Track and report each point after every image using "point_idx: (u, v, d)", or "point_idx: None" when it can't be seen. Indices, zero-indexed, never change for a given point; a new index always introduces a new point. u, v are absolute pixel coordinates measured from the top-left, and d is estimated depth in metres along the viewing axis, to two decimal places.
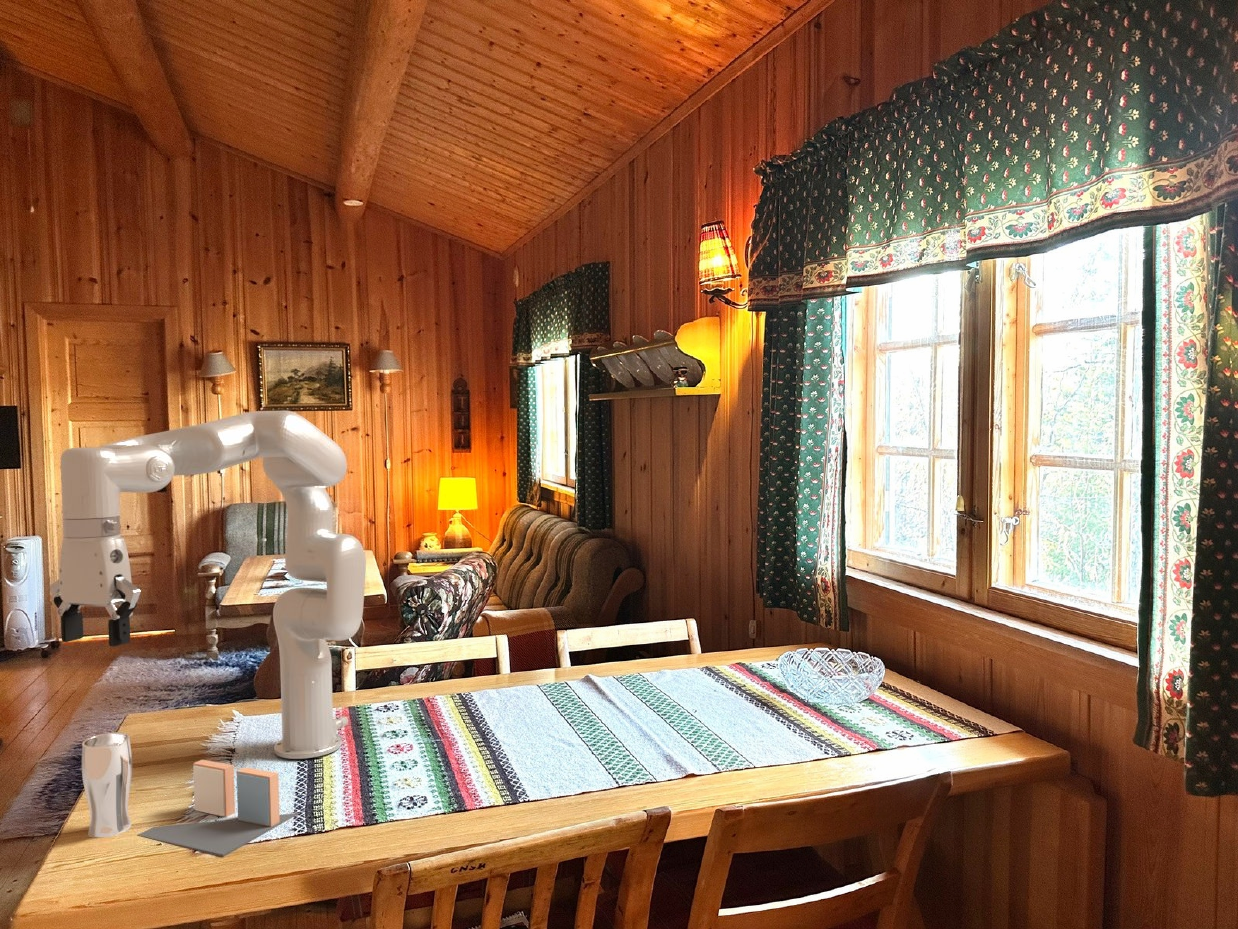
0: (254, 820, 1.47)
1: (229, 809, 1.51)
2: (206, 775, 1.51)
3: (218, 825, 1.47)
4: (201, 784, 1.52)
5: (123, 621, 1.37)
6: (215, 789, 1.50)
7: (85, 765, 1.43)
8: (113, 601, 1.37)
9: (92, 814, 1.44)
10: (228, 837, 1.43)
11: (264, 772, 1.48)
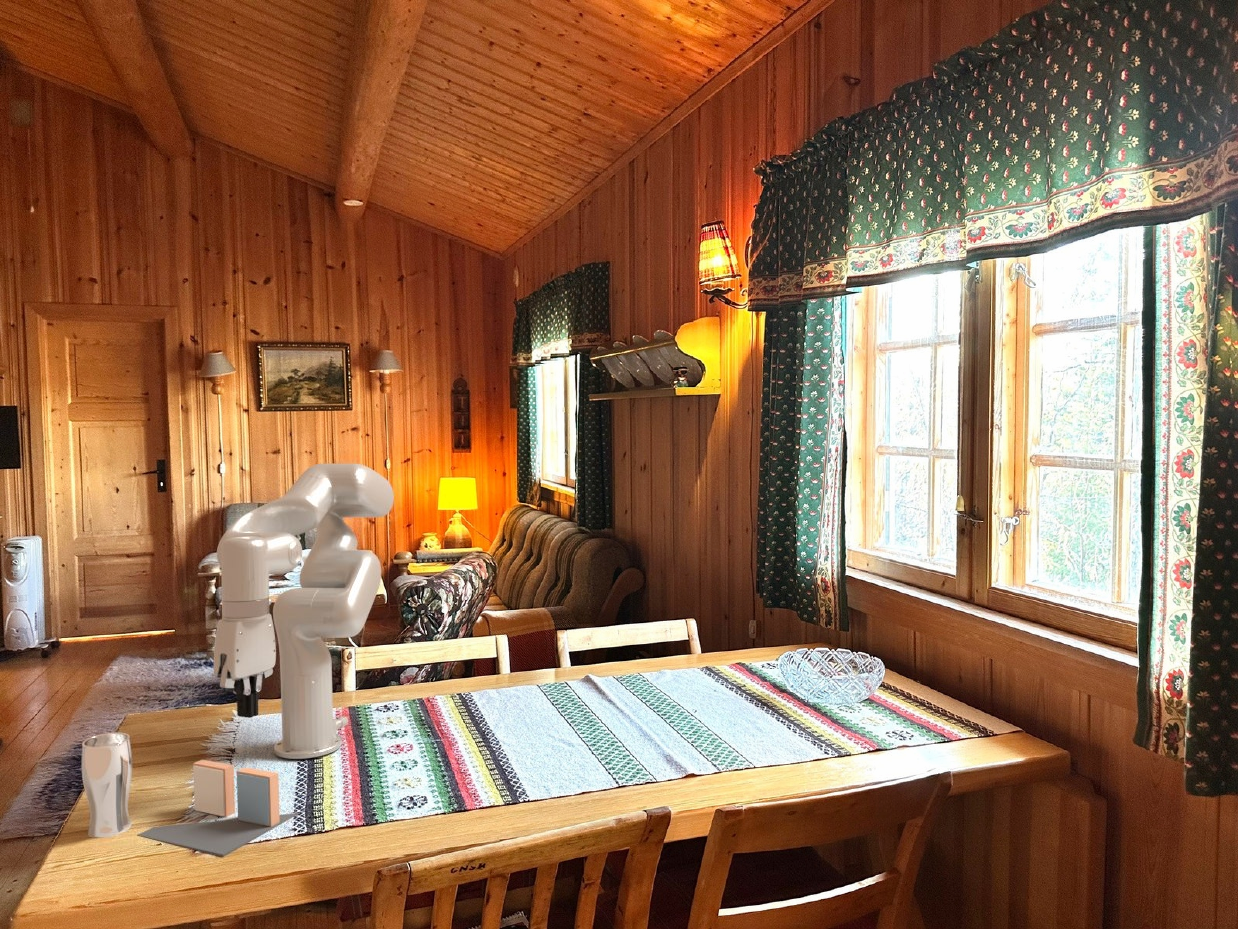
0: (254, 820, 1.47)
1: (229, 809, 1.51)
2: (206, 775, 1.51)
3: (218, 825, 1.47)
4: (201, 784, 1.52)
5: None
6: (215, 789, 1.50)
7: (85, 765, 1.43)
8: None
9: (92, 814, 1.44)
10: (228, 837, 1.43)
11: (264, 772, 1.48)
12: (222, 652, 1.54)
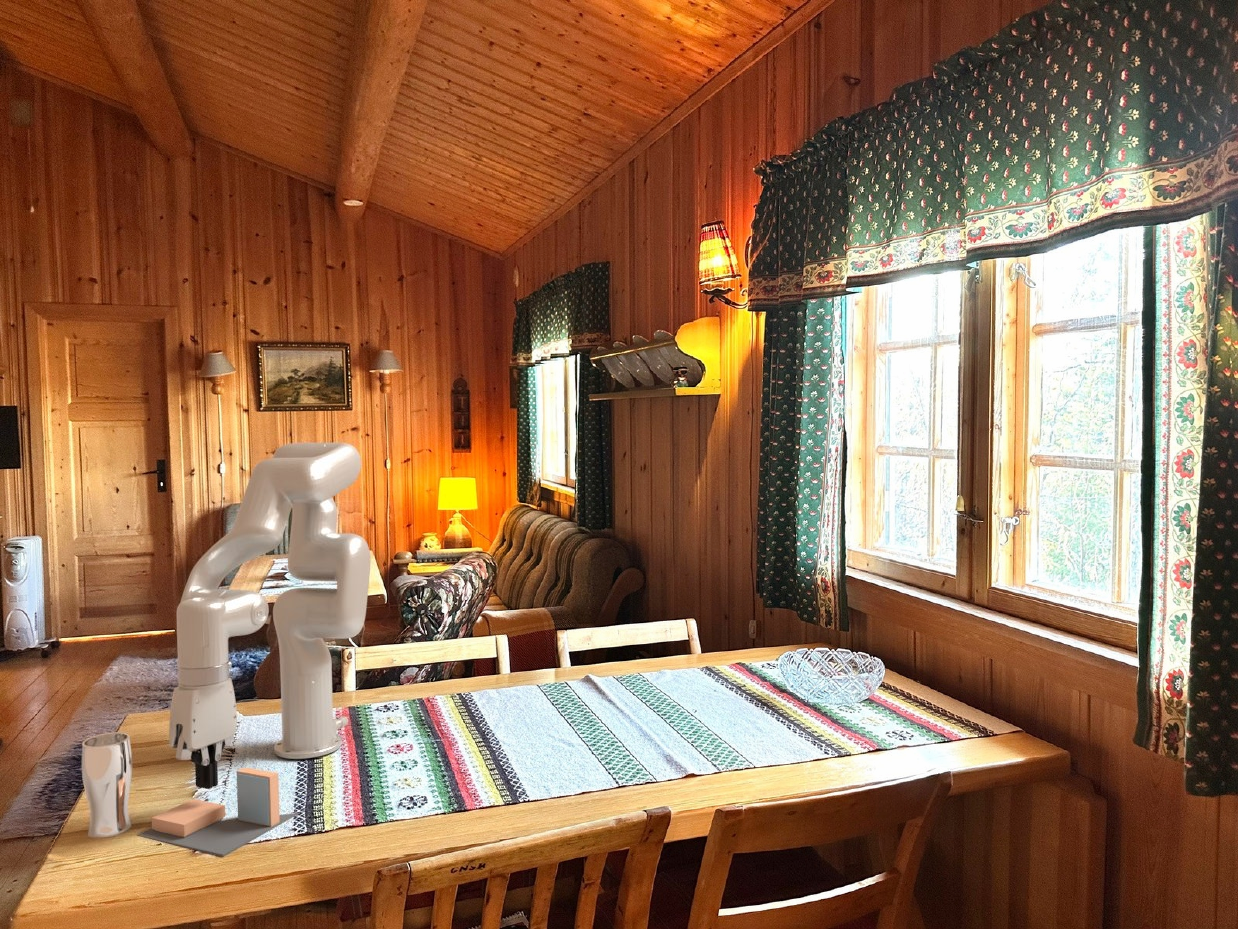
0: (254, 820, 1.47)
1: (219, 814, 1.49)
2: None
3: (218, 825, 1.47)
4: None
5: None
6: None
7: (85, 765, 1.43)
8: None
9: (92, 814, 1.44)
10: (228, 837, 1.43)
11: (264, 772, 1.48)
12: (178, 722, 1.46)
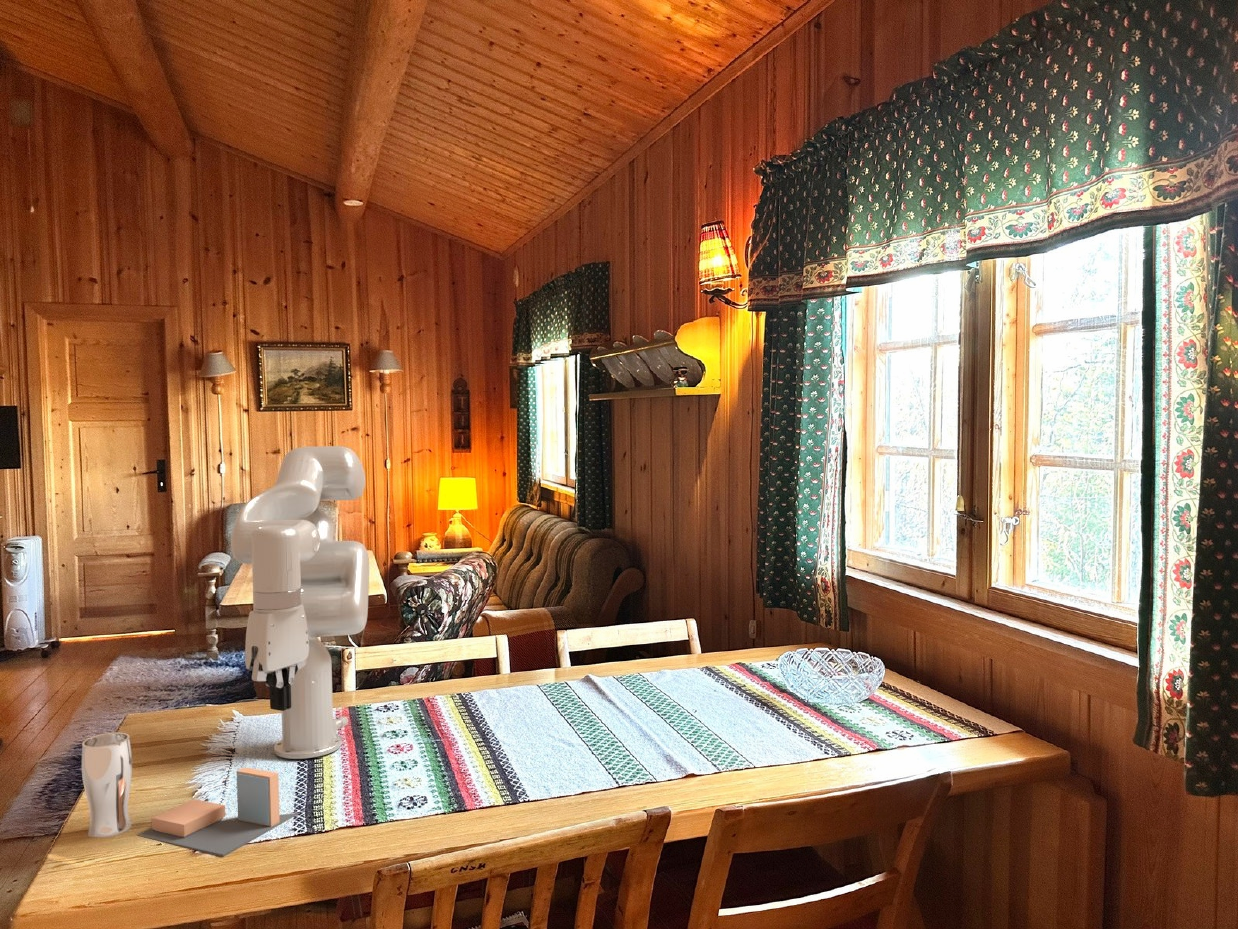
0: (254, 820, 1.47)
1: (219, 814, 1.49)
2: None
3: (218, 825, 1.47)
4: None
5: None
6: None
7: (85, 765, 1.43)
8: None
9: (92, 814, 1.44)
10: (228, 837, 1.43)
11: (264, 772, 1.48)
12: (253, 644, 1.50)
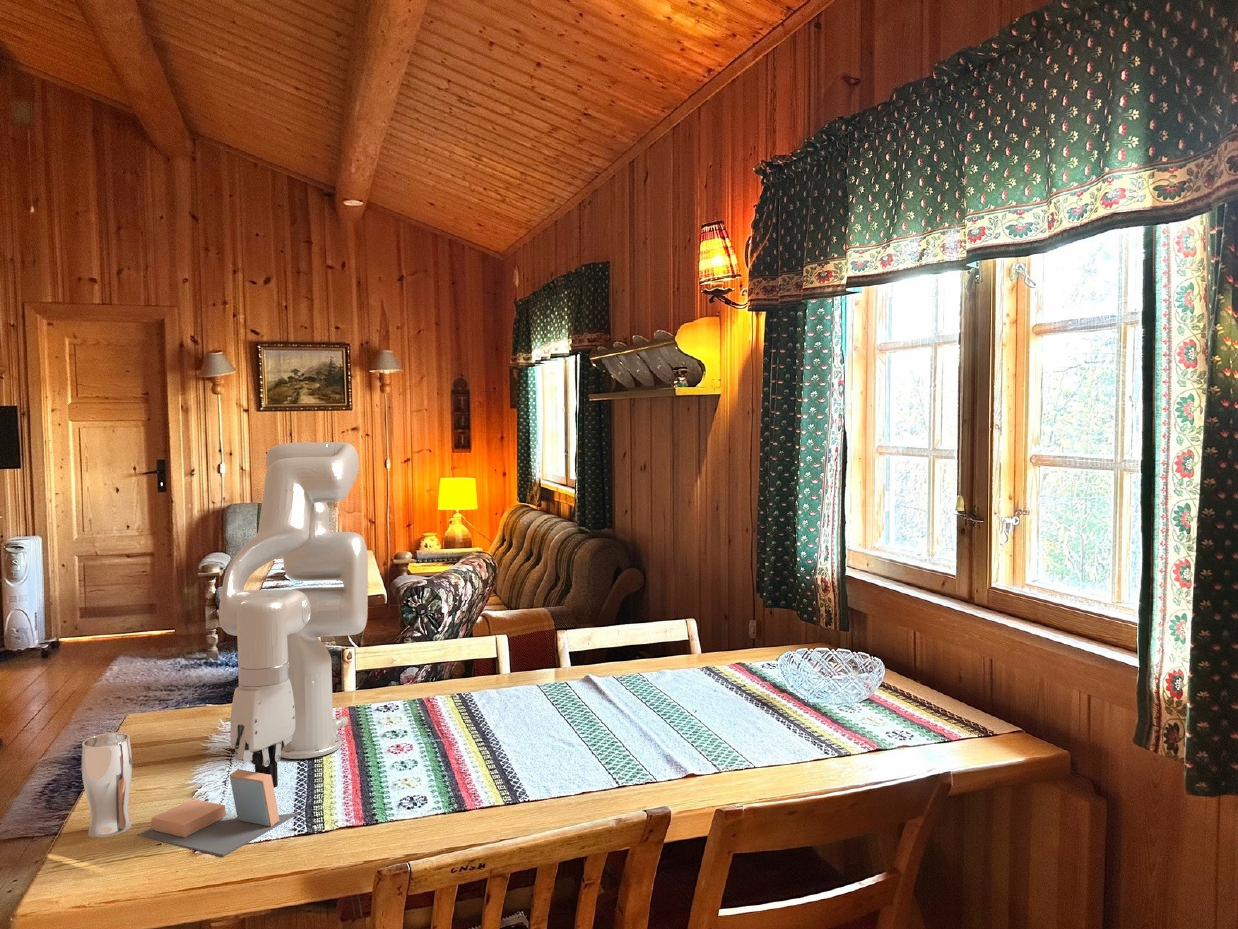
0: (253, 821, 1.47)
1: (219, 814, 1.49)
2: None
3: (218, 825, 1.47)
4: None
5: None
6: None
7: (85, 765, 1.43)
8: None
9: (92, 814, 1.44)
10: (228, 837, 1.43)
11: (257, 774, 1.47)
12: (239, 722, 1.45)
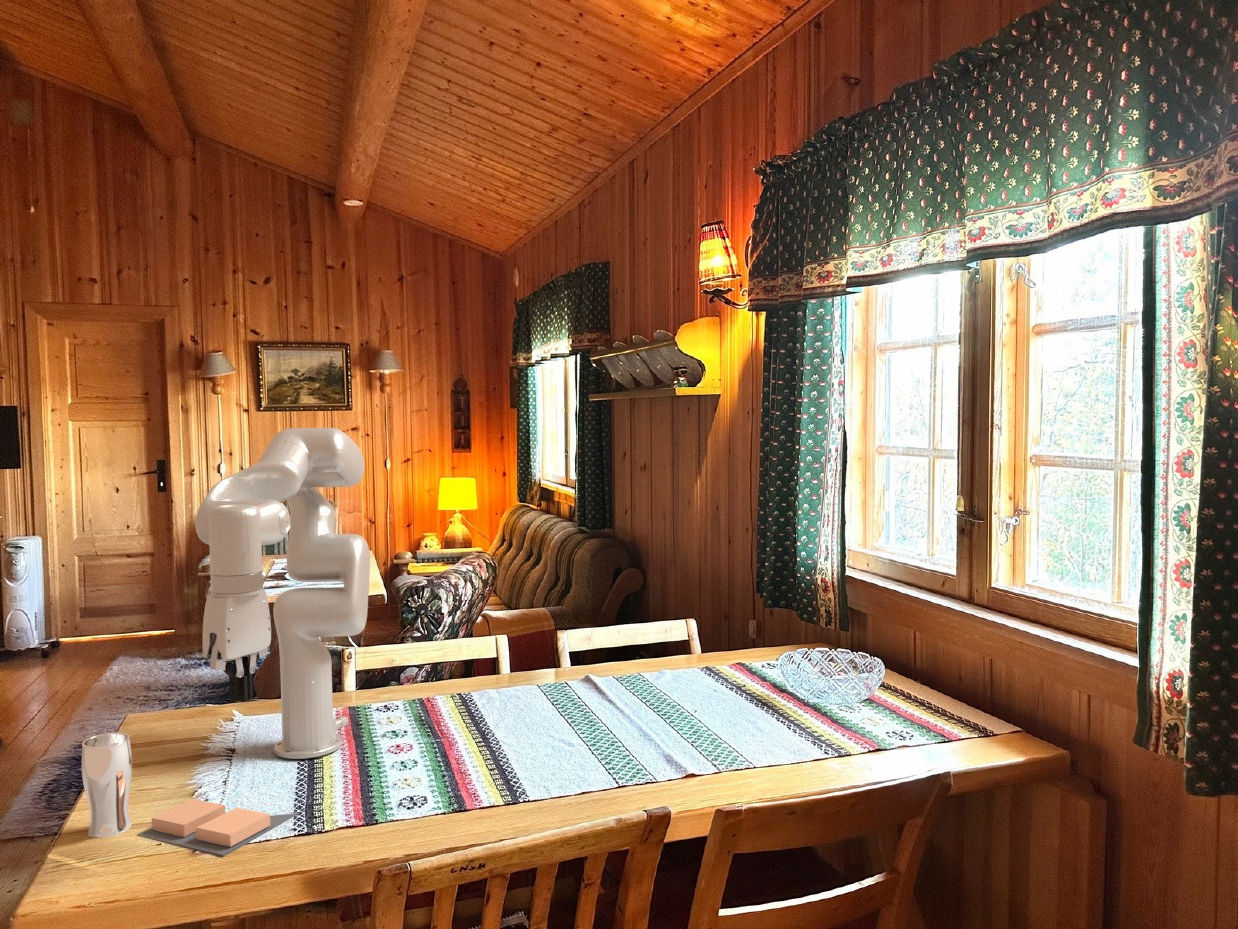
0: None
1: (219, 814, 1.49)
2: None
3: None
4: None
5: None
6: None
7: (85, 765, 1.43)
8: None
9: (92, 814, 1.44)
10: None
11: (218, 836, 1.40)
12: (211, 631, 1.40)
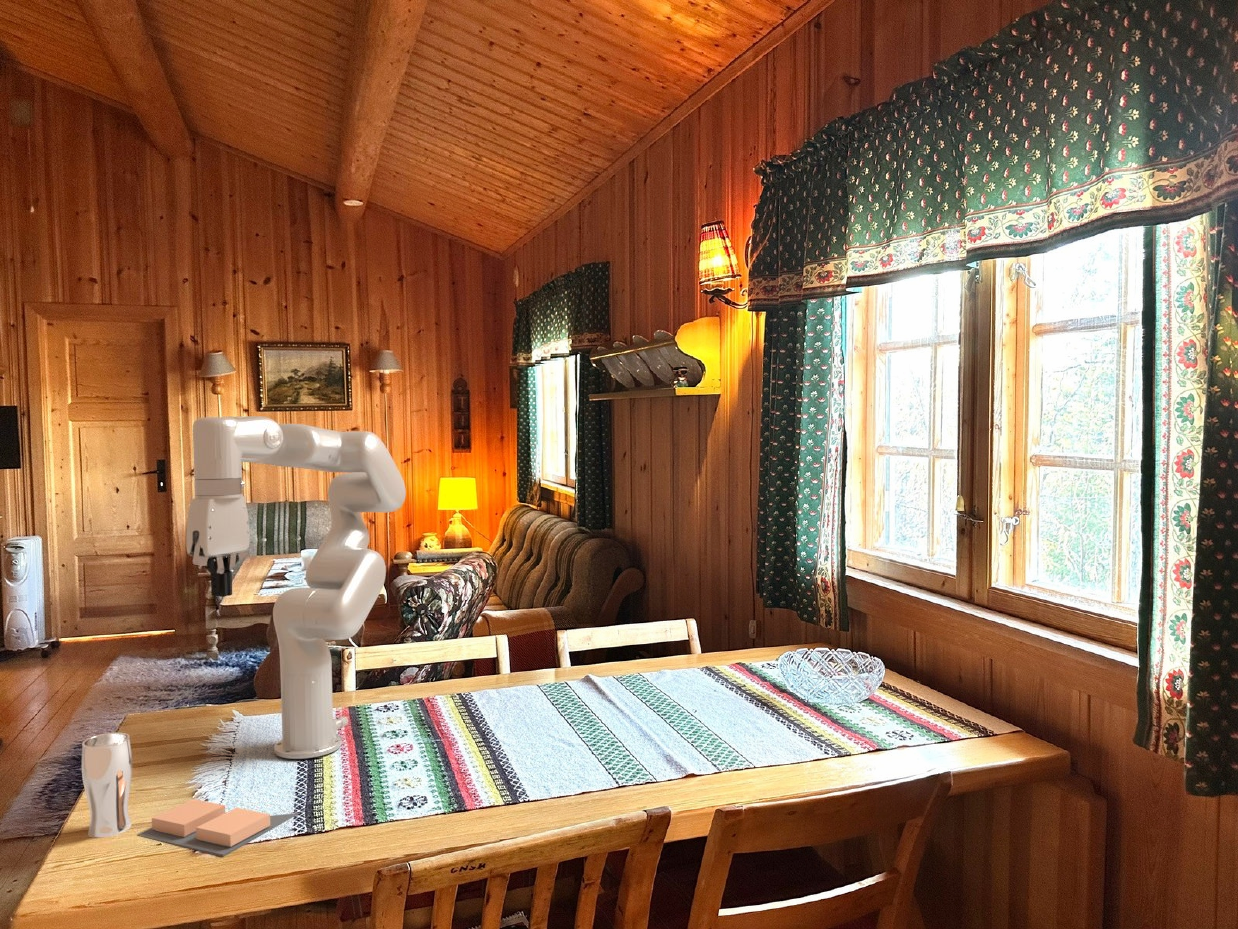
0: None
1: (219, 814, 1.49)
2: None
3: None
4: None
5: None
6: None
7: (85, 765, 1.43)
8: None
9: (92, 814, 1.44)
10: None
11: (218, 836, 1.40)
12: (194, 528, 1.54)
